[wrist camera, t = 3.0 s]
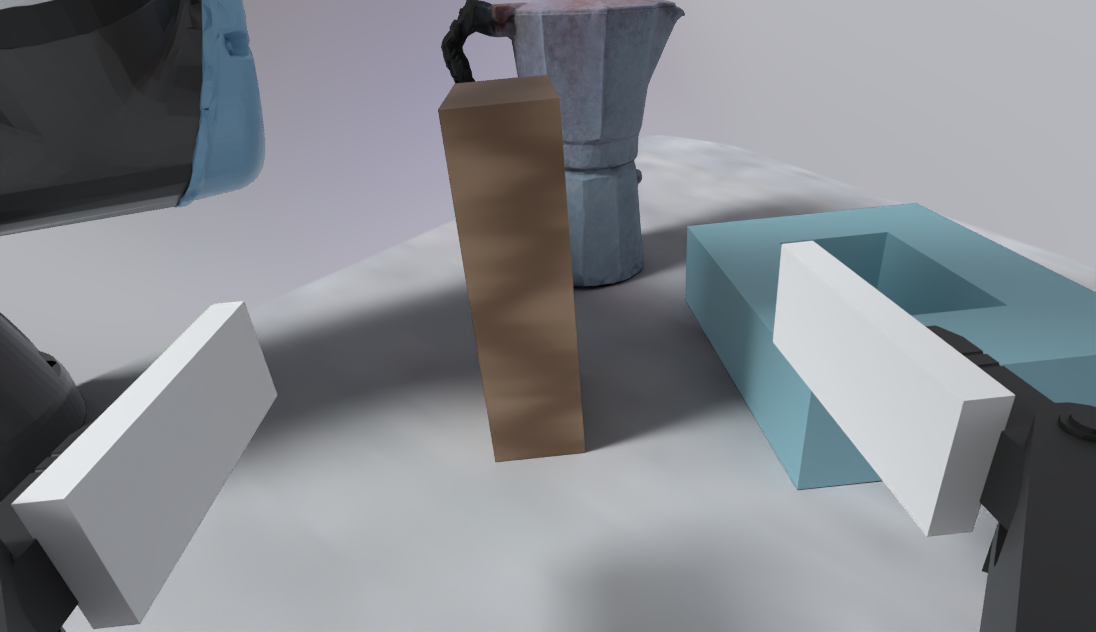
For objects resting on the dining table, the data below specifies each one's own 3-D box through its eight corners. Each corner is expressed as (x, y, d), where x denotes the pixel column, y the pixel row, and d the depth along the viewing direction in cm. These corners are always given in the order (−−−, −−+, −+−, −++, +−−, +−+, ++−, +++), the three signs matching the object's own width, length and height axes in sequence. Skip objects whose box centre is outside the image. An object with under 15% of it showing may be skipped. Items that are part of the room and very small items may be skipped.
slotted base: (797, 489, 24) (812, 384, 21) (685, 299, 39) (687, 226, 36) (1147, 452, 24) (1199, 343, 22) (900, 278, 39) (916, 202, 37)
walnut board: (495, 461, 27) (437, 109, 20) (497, 375, 33) (454, 83, 26) (585, 452, 27) (559, 97, 20) (570, 367, 33) (547, 74, 26)
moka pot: (706, 272, 42) (720, -63, 33) (491, 315, 39) (439, -40, 30) (650, 229, 51) (649, -48, 41) (469, 263, 48) (422, -29, 38)
